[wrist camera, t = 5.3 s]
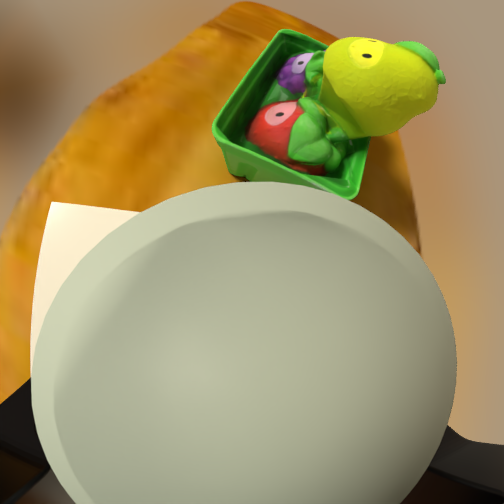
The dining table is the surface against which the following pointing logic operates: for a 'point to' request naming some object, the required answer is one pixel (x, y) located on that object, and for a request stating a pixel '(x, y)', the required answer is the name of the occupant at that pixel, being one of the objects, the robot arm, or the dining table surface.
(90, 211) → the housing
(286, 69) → the fruit basket
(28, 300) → the dining table surface
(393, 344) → the grey cylinder
